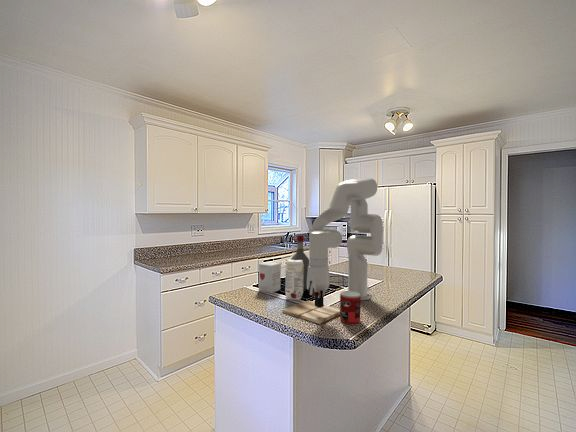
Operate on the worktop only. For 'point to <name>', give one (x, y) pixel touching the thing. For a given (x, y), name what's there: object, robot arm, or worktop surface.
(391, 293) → the worktop surface
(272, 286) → the supplement box
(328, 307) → the plank
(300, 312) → the brown wooden board
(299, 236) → the liquor
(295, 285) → the juice carton
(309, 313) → the plank
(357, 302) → the canned food
